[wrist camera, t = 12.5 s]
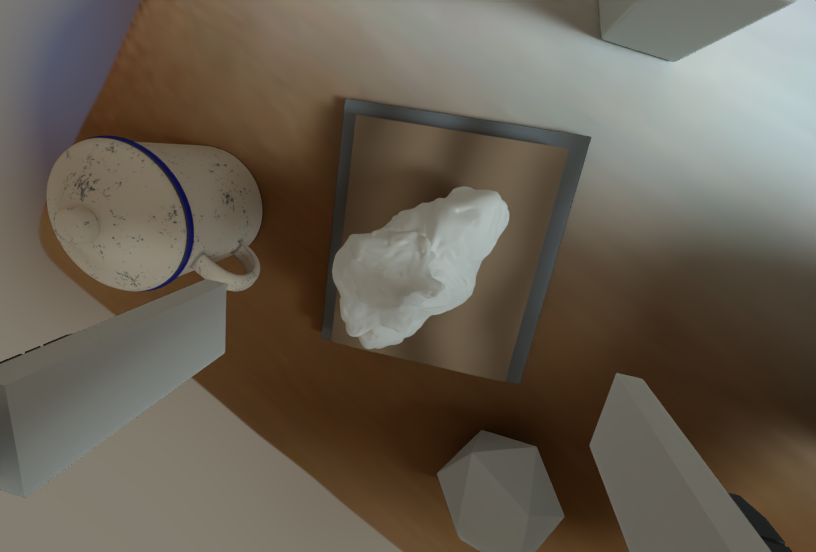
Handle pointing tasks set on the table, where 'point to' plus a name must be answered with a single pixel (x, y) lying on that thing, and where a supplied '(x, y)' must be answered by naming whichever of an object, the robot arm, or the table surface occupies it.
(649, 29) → the jar
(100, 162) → the teacup with lid
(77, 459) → the robot arm
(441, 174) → the pedestal
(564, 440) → the table surface
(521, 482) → the die
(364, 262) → the bust
